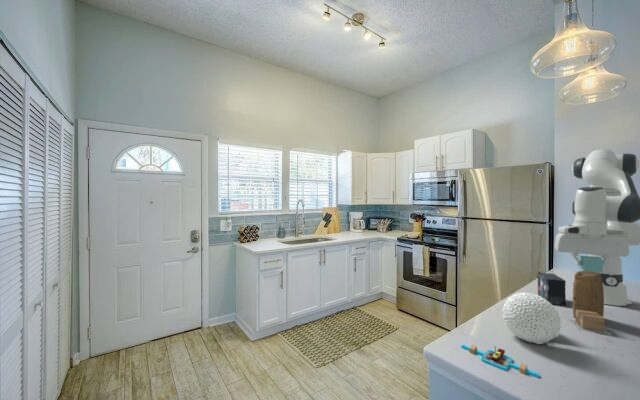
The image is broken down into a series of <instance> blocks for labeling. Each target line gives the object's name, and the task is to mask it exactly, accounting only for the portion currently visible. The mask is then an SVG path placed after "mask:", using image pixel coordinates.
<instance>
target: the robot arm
mask: <svg viewBox="0 0 640 400" xmlns="http://www.w3.org/2000/svg"><path fill="white" fill-rule="evenodd" d="M639 169H640V161H639V158H638V157H637V155H635V154H633V153H622V154H621V153H618V154H617V153H615V152H614V151H612V150H611V149H607V148H600V149H596V150H593V151H591V152H590V153H589V154H588V155H587V157H580V158H577V159H575V160H574V162H573V163H572V165H571V172H572V174H573V177H575V178H577V179H582V180H583V181H585V182H586V183H587V184H588V185H590V186H586V187H585V186H582V187H579V188H578V189H576V192H575V197H574V201H573V202H572V208H571V209H572V214H573V215H575V216H574V220H573V223H572V224H568V225H562V226H559V227H558V228H557V229H558V233H557V234H556V236H555V240H554V249H555V251H557V252H560V253H569V254H571V257H572V258H573V259H574V260H575V261H574V264H575V266H578V265H582V261H581V260H579V259H578V256H579V254H580V255H581V254H583V255H587V256H596V257H598V258H601V259H603V264H602V272H596V273H600V274H601V276H602V283H603V291H604V305H610V306H618V307H621V306H622V307H624V306H627V305H633V304H632V301H630V300H629V297H628V289H627V286H626V285H625V284H624V283H623V282H624V275H623V273H622V267H623V266H622V265H623V264H622V263H623V262H622V258H621V257H623V258H624V257H625V258H627V257H628V256H629V255H630V247H629V246H639V245H640V224H638V223H636V222H638V221H639V220H640V196H639V194H638V191H637V189H636V185H635V184H634V181H633V179H632V176H633V175H635V174H636V173H637V171H638V170H639Z"/></svg>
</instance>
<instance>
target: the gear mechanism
mask: <svg viewBox="0 0 640 400" xmlns="http://www.w3.org/2000/svg"><path fill="white" fill-rule="evenodd" d="M461 349H464V350H467V351H468V352H469V353H471V354H477V355H479V356H481V357H480V361H482V362H483V363H484V364H485V363H486V364H488V365H490V366H493V367H496V368H497V369H499V370H503V371H508V369H509V368H513V369H516V370H518V373H523V374H528V375H531V376H534V377H536V378H538V379H539V377H540V373H538V372H535V371H533V370H531V369H528V365H527V364H525V363H520V365H518V364H515V363H513V362H514V359H513V358H512V357H510V356H508V355H506V354H505V352H506V350H504V349H502V348H498V349H497V346H496V345H494V350H493V349H488V350H487V349H486V352H483V351H481V350H479V349H478V346H476V345H475V344H472V345H471V346H468V345H466V344H461Z"/></svg>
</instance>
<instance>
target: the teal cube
mask: <svg viewBox="0 0 640 400" xmlns="http://www.w3.org/2000/svg"><path fill="white" fill-rule="evenodd" d="M577 258H578V259H579V260H581V261H582V265H577V267H578V269H580V271H591V272H602V264H603V259H601V258H598V257H596V256H588V255H581V254H580V255H579V256H577Z"/></svg>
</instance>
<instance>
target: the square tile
mask: <svg viewBox="0 0 640 400" xmlns="http://www.w3.org/2000/svg"><path fill="white" fill-rule="evenodd" d="M569 322H570V323H572V324H573V325H574V326H575V327H576V328H577V329H578V330H579V331H586V332H591V333H597V334H603V335H609V336H613V334H612V333H611V332H610V331H608V330H607V329H606V328H605V332H600V331H594V330H588V329H583V328H581V327H580V326H579V325H578V324H577V323H576V320H573V319H569Z"/></svg>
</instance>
